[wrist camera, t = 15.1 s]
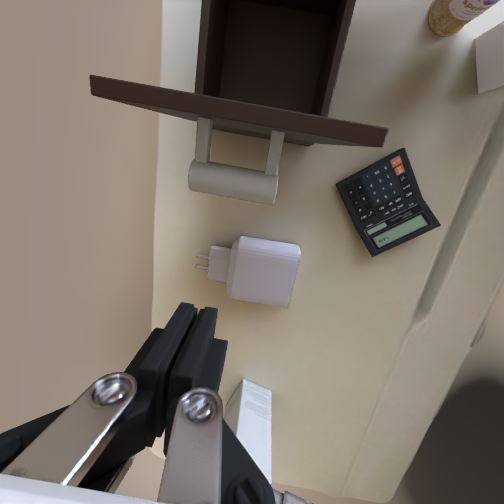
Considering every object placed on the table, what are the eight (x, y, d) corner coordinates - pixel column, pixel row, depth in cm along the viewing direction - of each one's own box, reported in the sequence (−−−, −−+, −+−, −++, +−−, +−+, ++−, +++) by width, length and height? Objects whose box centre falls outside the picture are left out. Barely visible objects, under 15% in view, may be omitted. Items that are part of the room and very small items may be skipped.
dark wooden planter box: (224, -8, 29) (207, -77, 21) (339, 13, 29) (367, -48, 21) (211, 128, 34) (192, 116, 26) (308, 146, 34) (322, 140, 26)
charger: (202, 227, 39) (297, 243, 38) (197, 280, 42) (286, 295, 42) (193, 235, 34) (301, 253, 34) (189, 294, 37) (288, 310, 37)
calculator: (401, 148, 33) (413, 146, 30) (428, 223, 36) (441, 227, 33) (335, 184, 35) (341, 185, 32) (366, 252, 38) (374, 258, 35)
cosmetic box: (252, 416, 51) (246, 517, 36) (223, 403, 50) (205, 501, 36) (272, 389, 48) (274, 486, 34) (242, 375, 48) (231, 468, 33)
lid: (88, 73, 11) (98, 183, 13) (390, 128, 11) (354, 229, 13) (191, 111, 25) (188, 161, 27) (324, 135, 25) (311, 183, 27)
